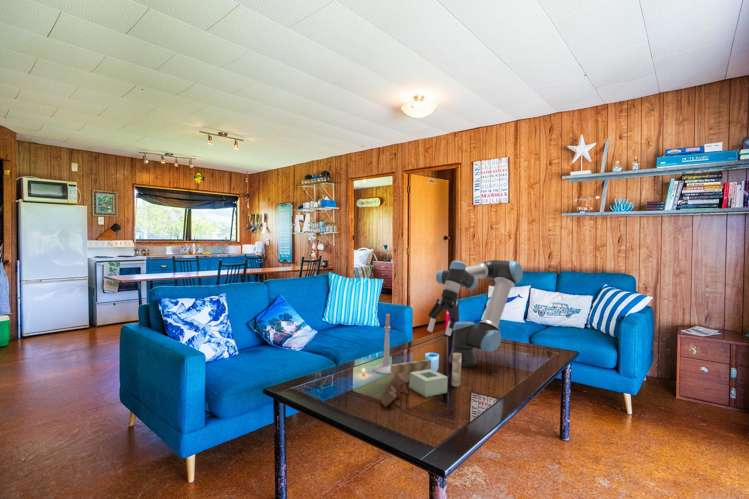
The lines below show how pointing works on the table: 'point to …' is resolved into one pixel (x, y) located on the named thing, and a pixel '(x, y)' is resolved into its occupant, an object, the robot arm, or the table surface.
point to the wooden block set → (393, 389)
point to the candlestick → (385, 352)
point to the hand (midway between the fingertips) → (438, 333)
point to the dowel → (456, 369)
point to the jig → (409, 368)
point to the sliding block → (428, 382)
